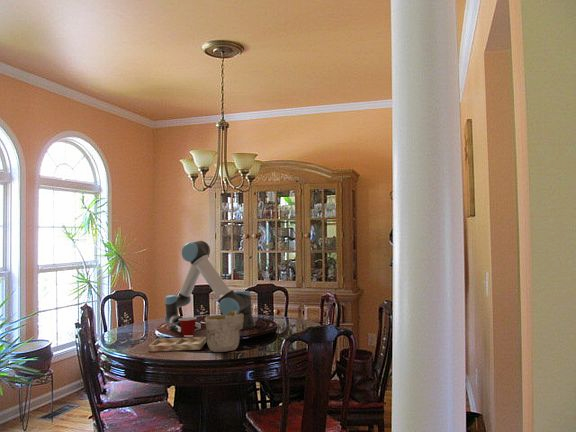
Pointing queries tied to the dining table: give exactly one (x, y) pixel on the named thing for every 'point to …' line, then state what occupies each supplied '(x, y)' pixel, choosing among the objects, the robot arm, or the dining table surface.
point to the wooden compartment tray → (177, 344)
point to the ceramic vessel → (224, 331)
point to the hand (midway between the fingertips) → (190, 328)
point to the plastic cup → (187, 325)
